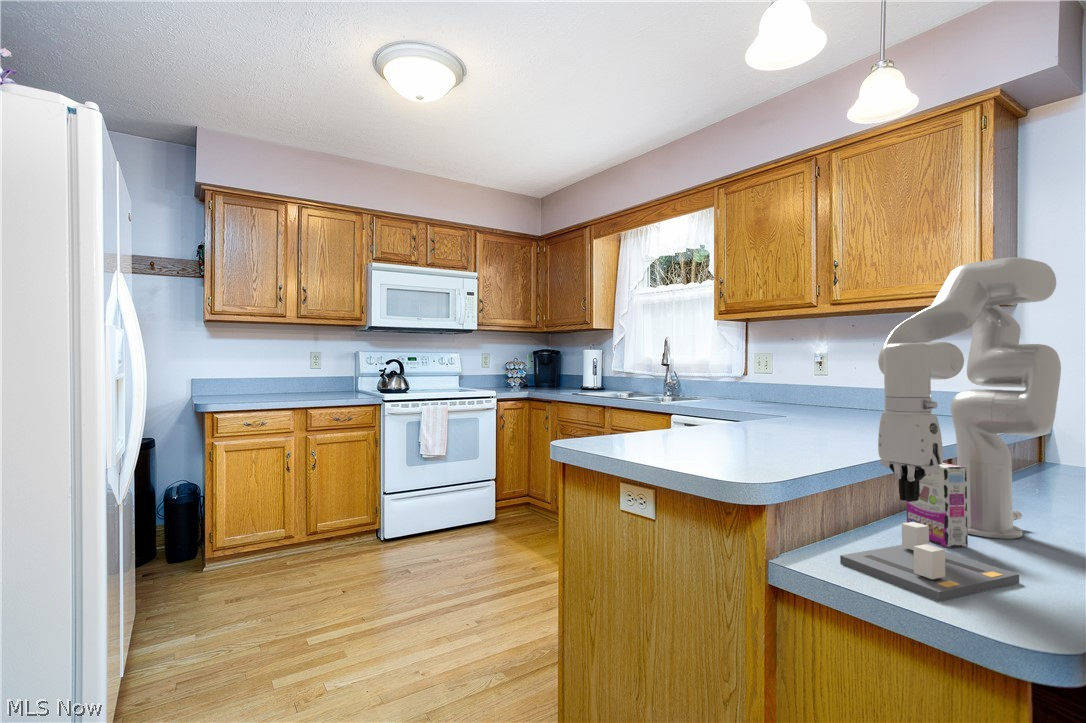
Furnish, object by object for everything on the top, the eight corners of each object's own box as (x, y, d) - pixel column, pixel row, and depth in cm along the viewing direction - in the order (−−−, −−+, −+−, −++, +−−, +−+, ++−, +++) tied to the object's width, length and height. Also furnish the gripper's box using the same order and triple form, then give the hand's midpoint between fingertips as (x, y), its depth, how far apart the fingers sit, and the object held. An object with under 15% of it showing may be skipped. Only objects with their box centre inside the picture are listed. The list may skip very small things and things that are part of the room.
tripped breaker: (913, 544, 106) (913, 521, 106) (929, 549, 103) (928, 525, 103) (902, 546, 105) (901, 523, 105) (917, 551, 102) (917, 527, 102)
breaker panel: (914, 550, 109) (914, 542, 109) (1019, 583, 92) (1019, 573, 92) (840, 563, 102) (840, 554, 102) (939, 601, 85) (939, 591, 85)
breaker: (927, 570, 93) (926, 544, 93) (945, 576, 90) (944, 549, 90) (914, 572, 92) (913, 546, 92) (932, 579, 89) (931, 551, 89)
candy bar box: (969, 547, 110) (968, 467, 110) (947, 548, 110) (945, 467, 110) (926, 531, 121) (925, 458, 121) (905, 532, 121) (904, 458, 121)
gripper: (961, 407, 100) (963, 507, 100) (883, 403, 114) (885, 490, 113) (935, 409, 97) (937, 511, 97) (858, 404, 111) (860, 494, 111)
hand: (909, 500), depth 105 cm, fingers closed
